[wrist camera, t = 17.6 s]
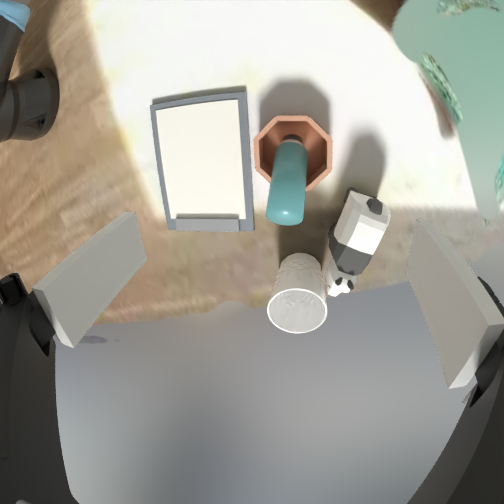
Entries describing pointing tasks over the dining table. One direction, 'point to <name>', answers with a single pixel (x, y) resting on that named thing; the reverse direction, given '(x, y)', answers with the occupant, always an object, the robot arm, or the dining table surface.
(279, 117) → the terracotta octagonal bowl
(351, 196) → the giant panda
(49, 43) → the dining table surface
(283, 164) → the teal cylinder
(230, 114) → the clipboard
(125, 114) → the dining table surface
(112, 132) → the dining table surface
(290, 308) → the white cup
